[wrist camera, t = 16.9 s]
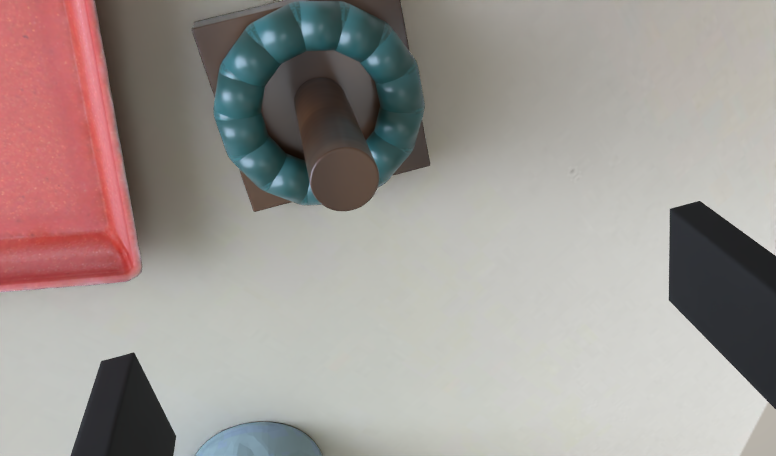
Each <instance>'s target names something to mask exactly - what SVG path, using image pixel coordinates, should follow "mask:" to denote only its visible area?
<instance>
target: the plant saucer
mask: <svg viewBox="0 0 776 456" xmlns="http://www.w3.org/2000/svg"><path fill="white" fill-rule="evenodd" d="M141 272H142V260H141V254H140V249H139V244H138V238H137V232H136V226H135V221H134V216H133V210H132V205H131V200H130V194H129V189H128V183H127V178H126V172H125V167H124V161H123V154H122V149H121V143H120V139H119V134H118V128H117V122H116V117H115V111H114V105H113V99H112V94H111V89H110V83H109V76H108V69H107V64H106V59H105V53H104V48H103V42H102V37H101V32H100V26H99V19H98V15H97V10H96V5H95V0H0V292H9V291H21V290H36V289H45V288H60V287H70V286H86V285H96V284H109V283H117V282H126V281H130V280H131V279H133V278H135V277H137V276H138V275H139V274H140V273H141Z"/></svg>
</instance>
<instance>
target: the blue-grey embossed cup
mask: <svg viewBox="0 0 776 456" xmlns="http://www.w3.org/2000/svg"><path fill="white" fill-rule="evenodd" d="M195 456H322V454H321V452H320V450H319V448H318V446H317V445H316V444H315V442H314V441H313V440H312V439H311V438H310V437H309V436H307V435H306V434H305V433H303V432H302V431H300V430H298V429H296V428H293V427H291V426H288V425H284V424H280V423H273V422H255V423H246V424H242V425H238V426H235V427H232V428H229V429H227V430H224V431H222V432H220V433H219V434H217V435H215V436H214V437H212V438H211V439H210V440H208V441H207V442H206V443H205V444H204V445H203V446H202V447H201V448H200V449H199V450H198V452H197V453H196V455H195Z"/></svg>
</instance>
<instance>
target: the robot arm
mask: <svg viewBox="0 0 776 456" xmlns="http://www.w3.org/2000/svg"><path fill="white" fill-rule="evenodd" d="M669 301H670V302H671V303H672V304H673V305H674V306H675V307H676V308H677V309H678V310H679V311H680V312H681V313H682V314H683V315H684V316H685V317H686V318H687V319H688V320H689V321H690V322H691V323H692V324H693V325H694V326H695V327H696V328H697V329H698V330H699V331H700V332H701V333H702V334H703V335H704V336H705V338H706V339H707V340H708V341H709V342H710V343H711V344H712V345H713V346H714V347H715V348H716V349H717V350H718V351H719V352H720V353H721V354H722V355H723V356H724V357H725V358H726V359H727V360H728V361H729V362H730V363H731V364H732V365H733V366H734V367H735V368H736V369H737V370H738V371H739V372H740V373H741V374H742V375H743V376H744V377H745V378H746V379H747V380H748V381H749V382H750V383H751V385H752V386H753V387H754V388H755V389H756V390H757V391H758V392H759V393H760V394H761V395H762V396H763V397H764V398H765V399H766V400H767V401H768V402H769V403H770V404H771V405H772V406H773V407H774V408H775V409H776V256H775V255H773V254H772V253H771V252H769V251H768V250H767V249H765V248H764V247H762V246H761V245H760V244H758V243H757V242H755V241H754V240H753V239H751V238H750V237H749V236H747V235H746V234H744V233H743V232H742V231H740V230H739V229H738V228H736V227H735V226H733V225H732V224H731V223H729V222H728V221H727V220H725V219H724V218H722V217H721V216H720V215H718V214H717V213H716V212H714V211H713V210H711V209H710V208H709V207H707V206H706V205H705V204H703V203H702V202H700V201H698V202H694V203H690V204H687V205H683V206H679V207H675V208H672V209H670V251H669ZM175 440H176V435H175V433H174V431H173V429H172V427H171V425H170V423H169V421H168V419H167V417H166V415H165V413H164V411H163V409H162V407H161V405H160V403H159V401H158V399H157V397H156V395H155V393H154V391H153V389H152V387H151V385H150V383H149V381H148V379H147V377H146V375H145V373H144V371H143V369H142V367H141V365H140V363H139V361H138V359H137V357H136V355H135V353H130V354H127V355H123V356H119V357H116V358H112V359H108V360H104V361H101V364H100V367H99V370H98V373H97V376H96V379H95V382H94V385H93V388H92V391H91V395H90V398H89V401H88V404H87V407H86V410H85V413H84V416H83V419H82V422H81V425H80V428H79V432H78V435H77V438H76V441H75V444H74V447H73V450H72V453H71V456H173V453H174V447H175Z"/></svg>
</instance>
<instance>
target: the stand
mask: <svg viewBox="0 0 776 456" xmlns="http://www.w3.org/2000/svg"><path fill="white" fill-rule="evenodd" d="M296 1H343V2H346V3H349V4H351V5H353V6H355V7H357V8H359V9H361V10H363V11H365V12H367V13H369V14H371V15H373V16H375V17H377V18H379V19H381V20H383V21H385V22H386V23H388V24H389V25H390V26H391V27H392V29H393V30H394V31H395V33H396V34H397V35H398V37H399V38H400V39H401V41H402V42H403V43H404V45H405V46H406V47H407V49H408V50H409V46H408V40H407V35H406V30H405V24H404V19H403V13H402V8H401V2H400V0H284V1H279V2H275V3H271V4H267V5H263V6H259V7H255V8H251V9H247V10H242V11H238V12H234V13H230V14H226V15H222V16H218V17H214V18H210V19H206V20H201V21H197V22H194V24H193V27H192V32H193V35H194V38H195V41H196V44H197V47H198V50H199V53H200V56H201V59H202V62H203V65H204V68H205V70H206V73H207V76H208V79H209V82H210V85H211V88H212V91H213V94H214V97H215V94H216V87H217V80H218V73H219V68H220V65H221V63H222V61H223V59H224V58H225V57H226V55H227V54H228V52H229V51H230V50H231V48H232V47H233V45H234V44H235V43H236V41H237V40H238V38H239V37H240V36H241V34H242V33H243V31H244V30H245V29H246V27H247V26H248V25H249V24H251V23H252V22H254V21H256V20H258V19H260V18H262V17H264V16H266V15H268V14H270V13H271V12H273V11H275V10H277V9H279V8H281V7H283V6H285V5H287V4H289V3H292V2H296ZM379 109H380V102H379V98H378V93H377V88H376V84H375V81H374V80H373V79H372V77H371V76H370V75H369V74H368V72H367V71H366V70H365V69H364V67H363V66H362V65H361V64H360V62H358V61H356V60H354V59H352V58H350V57H348V56H346V55H343V54H341V53H339V52H337V51H335V50H332V51H306V52H304V53H302V54H300V55H298V56H296V57H294V58H292V59H290V60H288V61H286V62H284V63H282V64H281V65H280V66H279V68H278V69H277V70H276V72H275V73H274V75H273V76H272V77H271V79H270V80H269V81H268V83H267V84H266V85H265V90H264V96H263V102H262V108H261V113H262V116H263V119H264V122H265V126H266V129H267V132H268V135H269V136H270V137H271V138H272V139H273V140H274V141H275V142H276V143H277V144H278V146H279V147H280V148H281V149H282V150H283V151H284V152H285V153H287V154H289V155H292V156H294V157H297V158H299V159H302V160H304V161H305V162H306V167H307V172H308V177H309V182H310V187H311V190H312V193H313V195H314V197H315V198H316V199H317V200H318V201H319V202H320V203H321V204H322V205H324V206H325V207H327V208H329V209H332V210H336V211H350V210H354V209H357V208H359V207H361V206H363V205H364V204H366V203H367V202H368V201H369V200H370V199H371V198H372V197H373V195H374V194H375V192H376V190H377V188H378V184H379V171H378V167H377V165H376V163H375V160H374V158H373V156H372V153H371V151H370V149H369V147H368V144H367V142H366V140H367V138H368V137H369V136H370V135H371V133H372V132H373V131H374V129H375V125H376V121H377V117H378V113H379ZM426 166H430V160H429V155H428V149H427V144H426V138H425V133H424V127H423V122H422V121H421V125H420V128H419V132H418V135H417V139H416V142H415V146H414V149H413V151H412V152H411V154H410V155H409V156H408V157H407V158H406V160H405V161H404V162H403V163H402V164H401V166H400V167H399V168H398V169H397V170H396V172H395V173H394V174H393V175H396V174H400V173H404V172H407V171H411V170H415V169H419V168H423V167H426ZM239 170H240V169H239ZM240 173H241V176H242V179H243V182H244V184H245V187H246V190H247V193H248V196H249V199H250V202H251V205H252V208H253V211H254V212H256V211H260V210H263V209H267V208H271V207H275V206H279V205H282V204H286V203H290V202H292V201H289V200H286V199H284V198H281V197H278V196H275V195H273V194H270V193H267V192H265V191H263V190H261V189H260V188H258V187H257V186H256V185H255V184H254V183H253V182H252V181H251V180H250V179H249V178H248V177H247V176H246V175H245V174H244V173H243V172H242V171H241V170H240Z"/></svg>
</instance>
